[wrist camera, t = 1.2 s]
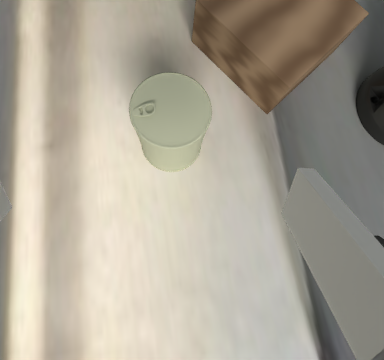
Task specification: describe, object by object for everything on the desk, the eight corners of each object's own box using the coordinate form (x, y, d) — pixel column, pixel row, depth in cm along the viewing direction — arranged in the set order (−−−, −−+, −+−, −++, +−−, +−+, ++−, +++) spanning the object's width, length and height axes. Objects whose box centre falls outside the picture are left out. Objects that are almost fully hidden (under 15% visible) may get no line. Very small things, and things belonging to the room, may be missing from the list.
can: (138, 119, 38) (123, 72, 27) (195, 112, 39) (205, 65, 28) (145, 175, 37) (133, 153, 25) (205, 167, 38) (219, 142, 26)
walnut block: (333, 51, 43) (369, 13, 36) (267, 114, 40) (289, 87, 32) (261, -15, 45) (280, -66, 37) (191, 41, 42) (196, -2, 34)
